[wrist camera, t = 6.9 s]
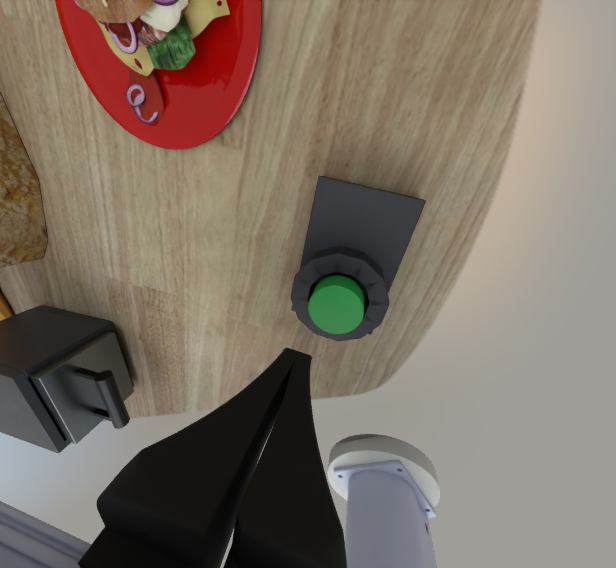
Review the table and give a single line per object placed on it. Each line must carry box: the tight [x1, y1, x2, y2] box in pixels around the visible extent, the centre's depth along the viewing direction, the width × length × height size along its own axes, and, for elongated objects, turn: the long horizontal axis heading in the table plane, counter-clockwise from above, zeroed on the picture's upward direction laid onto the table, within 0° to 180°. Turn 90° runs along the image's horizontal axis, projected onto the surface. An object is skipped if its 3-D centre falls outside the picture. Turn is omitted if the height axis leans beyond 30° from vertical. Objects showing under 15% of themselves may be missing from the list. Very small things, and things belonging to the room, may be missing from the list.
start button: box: [308, 275, 364, 334], centre depth 15 cm, size 3×3×2 cm
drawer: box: [27, 331, 134, 444], centre depth 25 cm, size 13×9×7 cm
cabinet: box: [0, 305, 134, 453], centre depth 26 cm, size 11×11×9 cm
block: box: [291, 176, 426, 341], centre depth 16 cm, size 10×6×4 cm, turn 168°
